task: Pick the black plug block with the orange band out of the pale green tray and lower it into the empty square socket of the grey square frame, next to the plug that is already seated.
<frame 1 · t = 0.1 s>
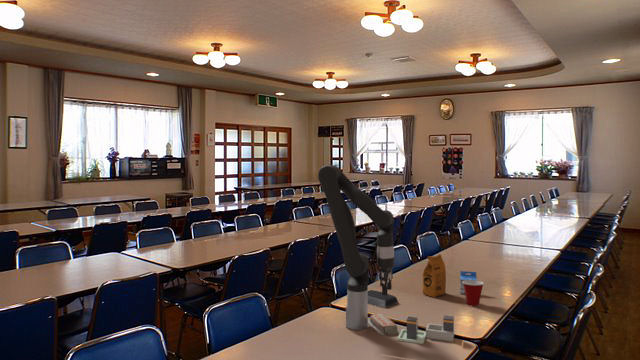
hand: (387, 292, 195), 17 cm above the table, tool pointing down, fingers open, 8 cm apart
label tape box: (468, 294, 248), on the table
packaged product: (383, 329, 199), on the table
plug: (412, 337, 187), point 1 cm above the table, touching tray
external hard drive: (377, 302, 236), on the table
plastic cup: (472, 304, 230), on the table
tray: (412, 338, 187), on the table
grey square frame: (440, 337, 188), on the table
coffee package: (433, 294, 248), on the table
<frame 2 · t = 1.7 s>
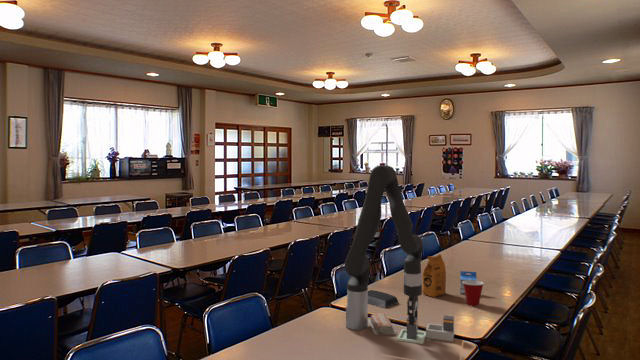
hand: (413, 320, 187), 8 cm above the table, tool pointing down, fingers open, 8 cm apart
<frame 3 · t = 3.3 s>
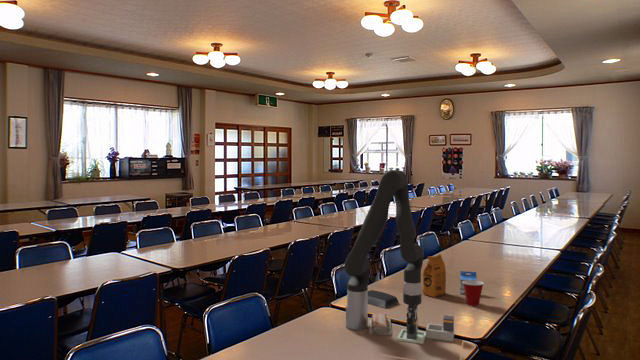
hand: (412, 331, 187), 3 cm above the table, tool pointing down, fingers closed on plug, 4 cm apart
plug: (412, 337, 187), point 1 cm above the table, touching gripper, tray
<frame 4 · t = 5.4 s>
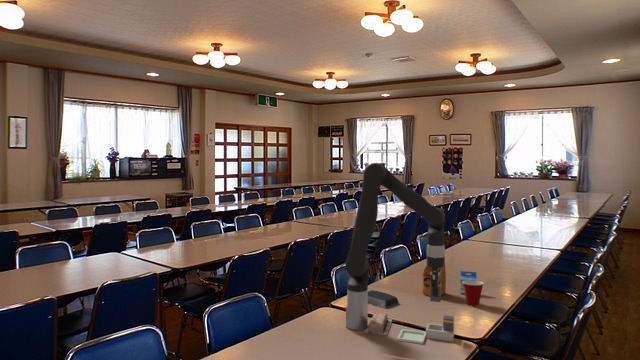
hand: (435, 294, 188), 18 cm above the table, tool pointing down, fingers closed on plug, 4 cm apart
plug: (435, 300, 188), point 16 cm above the table, touching gripper
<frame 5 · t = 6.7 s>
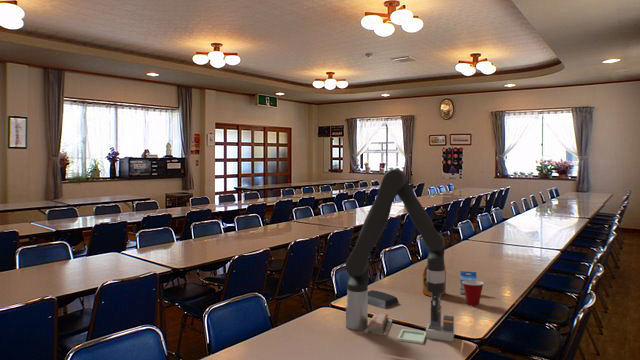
hand: (435, 319, 189), 7 cm above the table, tool pointing down, fingers closed on plug, 4 cm apart
plug: (435, 325, 189), point 5 cm above the table, touching gripper
when the fingers open (5 cm above the table, at t = 7.6 s): plug drops 1 cm, resting on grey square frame.
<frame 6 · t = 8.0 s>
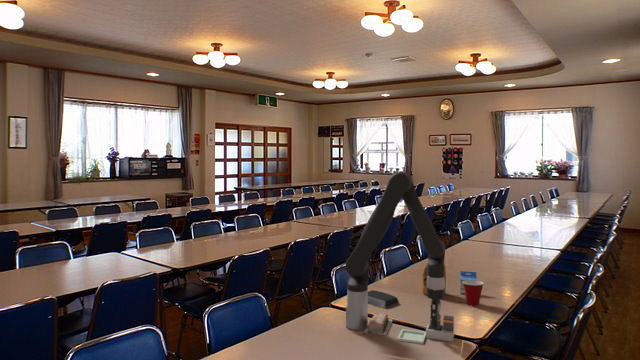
hand: (435, 323, 189), 6 cm above the table, tool pointing down, fingers open, 8 cm apart
plug: (435, 334, 189), point 1 cm above the table, touching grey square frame
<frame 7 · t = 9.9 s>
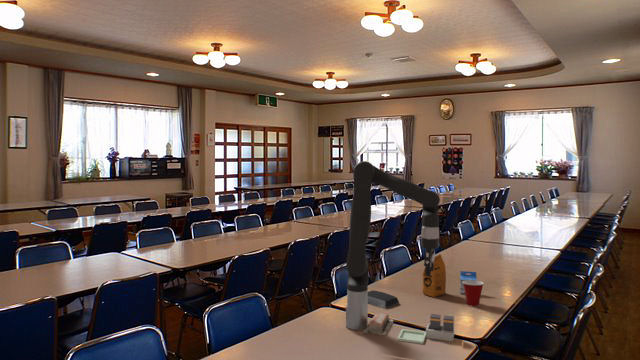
hand: (429, 273, 194), 26 cm above the table, tool pointing down, fingers open, 8 cm apart
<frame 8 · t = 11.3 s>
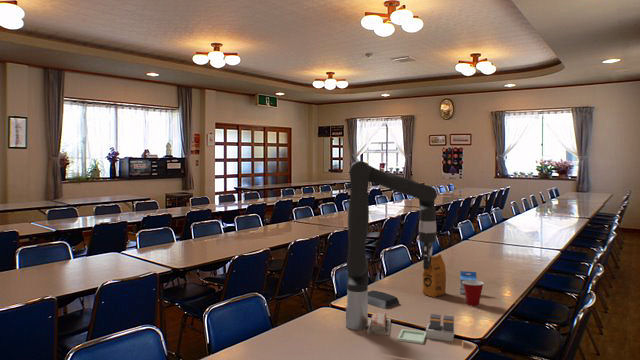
hand: (427, 266, 196), 28 cm above the table, tool pointing down, fingers open, 8 cm apart
at the end: plug 0.1 cm from the target spot on the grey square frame, point 1.0 cm above the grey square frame's base; plug tilted 0°; the gripper is holding nothing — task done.
